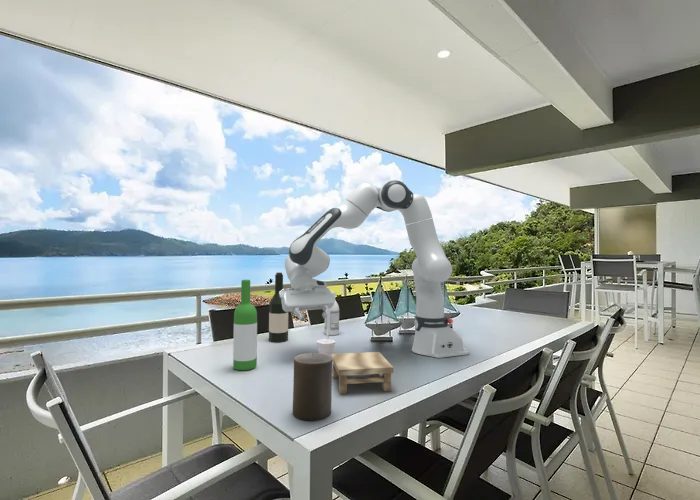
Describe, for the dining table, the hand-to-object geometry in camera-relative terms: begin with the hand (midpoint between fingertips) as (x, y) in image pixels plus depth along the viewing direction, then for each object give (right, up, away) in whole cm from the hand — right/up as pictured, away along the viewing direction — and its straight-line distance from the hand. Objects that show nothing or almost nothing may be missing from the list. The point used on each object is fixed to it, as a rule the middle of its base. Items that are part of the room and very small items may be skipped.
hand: (314, 318), depth 134 cm
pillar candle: (+3, -16, -41) cm, 44 cm away
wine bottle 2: (-19, -16, +30) cm, 39 cm away
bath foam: (+4, -16, +43) cm, 46 cm away
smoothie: (+5, -16, -8) cm, 19 cm away
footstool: (+16, -16, -20) cm, 31 cm away
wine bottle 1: (-23, -16, -7) cm, 29 cm away
